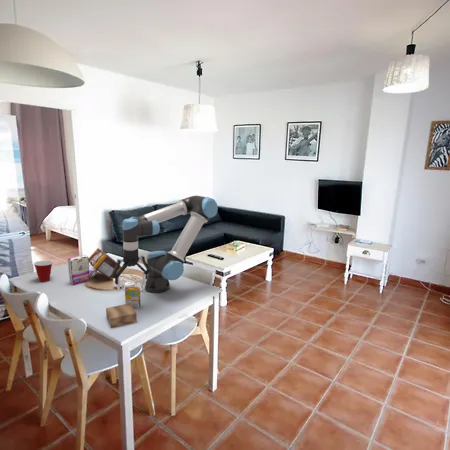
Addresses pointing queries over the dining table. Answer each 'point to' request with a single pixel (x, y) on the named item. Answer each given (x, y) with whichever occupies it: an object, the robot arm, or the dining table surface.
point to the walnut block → (121, 315)
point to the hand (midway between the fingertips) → (131, 287)
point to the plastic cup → (43, 270)
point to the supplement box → (103, 263)
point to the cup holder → (129, 281)
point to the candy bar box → (78, 269)
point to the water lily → (92, 270)
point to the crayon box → (132, 296)
